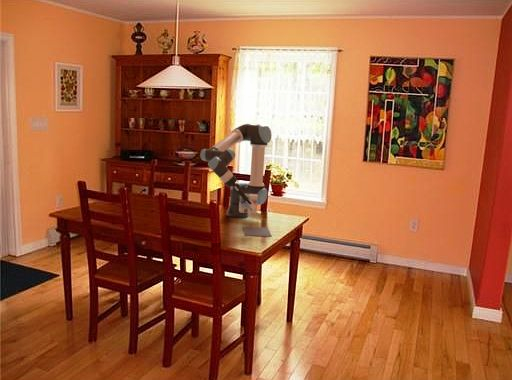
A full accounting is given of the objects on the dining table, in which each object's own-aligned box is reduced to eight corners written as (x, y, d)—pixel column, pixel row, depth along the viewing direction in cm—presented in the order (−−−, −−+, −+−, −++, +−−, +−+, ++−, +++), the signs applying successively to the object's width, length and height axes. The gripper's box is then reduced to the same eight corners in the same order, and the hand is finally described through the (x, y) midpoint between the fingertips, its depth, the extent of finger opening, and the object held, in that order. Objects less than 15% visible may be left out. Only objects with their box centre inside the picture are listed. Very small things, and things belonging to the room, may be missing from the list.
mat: (242, 227, 305) (242, 226, 305) (267, 228, 306) (267, 227, 306) (245, 235, 285) (245, 235, 285) (271, 236, 287) (271, 235, 287)
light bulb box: (239, 212, 288) (240, 195, 286) (238, 210, 294) (239, 193, 292) (257, 213, 290) (258, 195, 288) (255, 210, 296) (256, 193, 294)
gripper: (223, 180, 297) (248, 206, 302) (224, 185, 278) (250, 214, 282) (232, 172, 297) (257, 199, 301) (234, 177, 277) (259, 205, 282)
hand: (253, 206), depth 292 cm, fingers closed on light bulb box, 7 cm apart
